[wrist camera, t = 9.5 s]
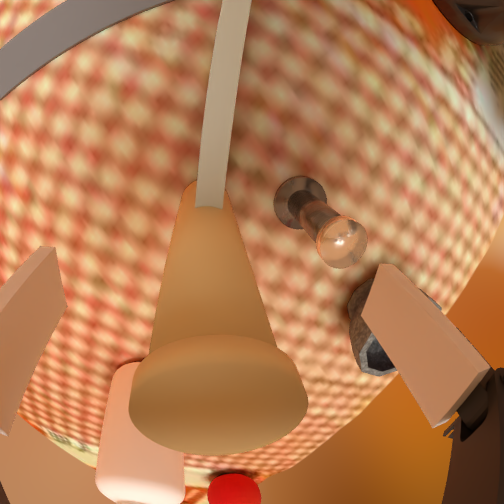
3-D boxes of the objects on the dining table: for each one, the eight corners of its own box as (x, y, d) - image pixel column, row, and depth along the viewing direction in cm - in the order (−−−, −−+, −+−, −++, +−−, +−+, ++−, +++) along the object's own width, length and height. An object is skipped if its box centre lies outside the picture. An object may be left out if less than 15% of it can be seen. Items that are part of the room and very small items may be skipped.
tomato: (194, 478, 46) (198, 521, 36) (225, 464, 43) (232, 512, 34) (233, 485, 50) (240, 523, 40) (265, 471, 48) (275, 513, 38)
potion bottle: (152, 347, 28) (139, 514, 12) (196, 388, 32) (207, 529, 16) (100, 370, 29) (73, 509, 13) (144, 406, 32) (139, 531, 16)
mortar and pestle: (314, 318, 30) (361, 409, 19) (371, 247, 27) (449, 320, 16) (376, 344, 34) (421, 414, 23) (423, 288, 31) (484, 350, 20)
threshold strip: (243, -60, 13) (244, -62, 12) (262, -21, 15) (263, -23, 15) (-8, 58, 13) (-10, 58, 12) (0, 100, 15) (-2, 100, 14)
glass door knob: (317, 169, 23) (372, 198, 15) (329, 217, 25) (379, 263, 17) (267, 186, 23) (301, 223, 15) (281, 234, 25) (317, 289, 17)
